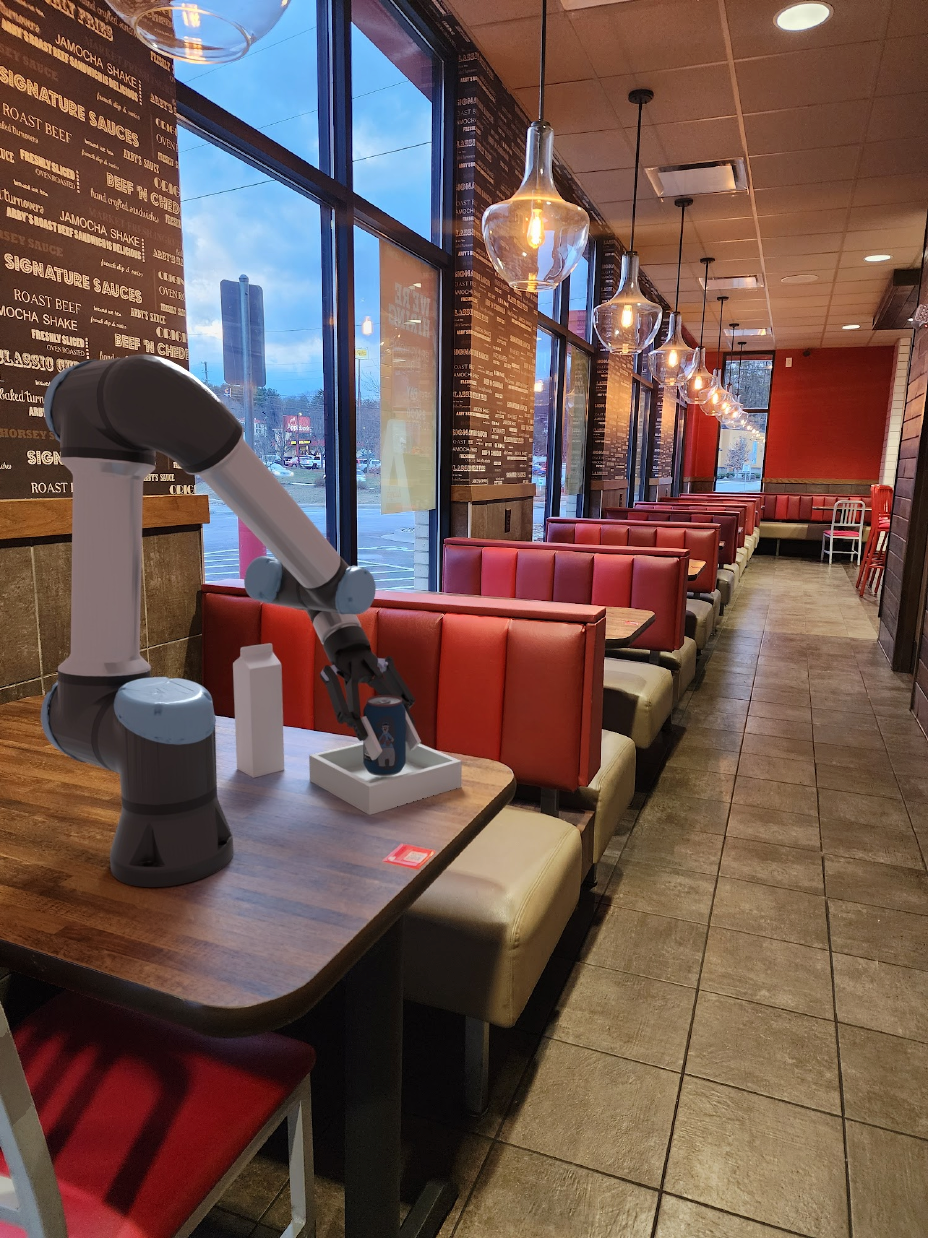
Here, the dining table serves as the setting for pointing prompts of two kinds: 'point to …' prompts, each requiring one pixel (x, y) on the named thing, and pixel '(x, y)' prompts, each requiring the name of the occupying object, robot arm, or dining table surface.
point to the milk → (258, 711)
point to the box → (384, 777)
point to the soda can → (386, 734)
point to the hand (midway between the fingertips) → (396, 750)
